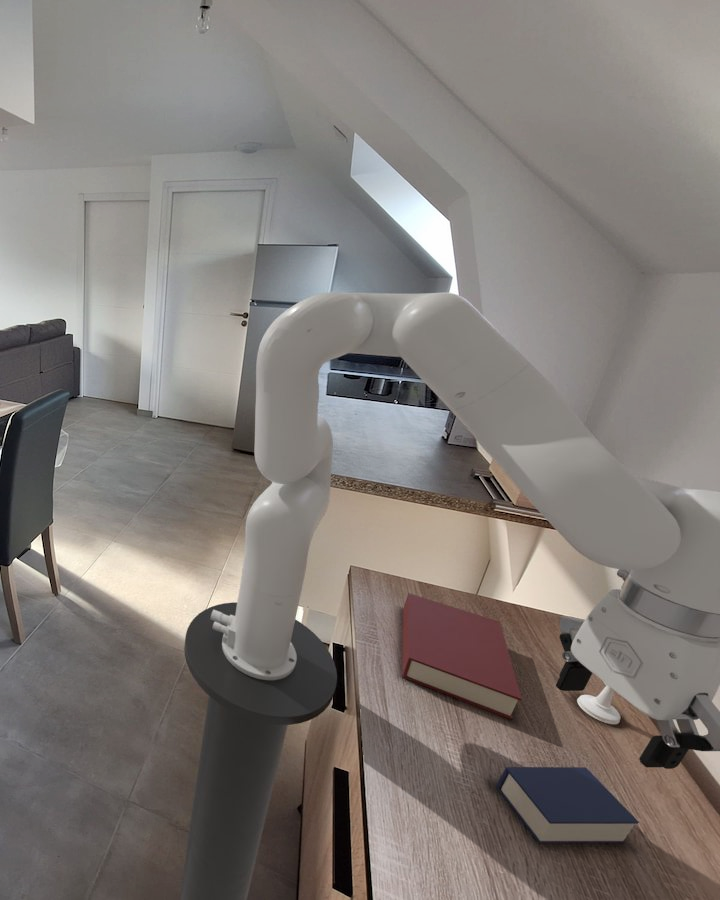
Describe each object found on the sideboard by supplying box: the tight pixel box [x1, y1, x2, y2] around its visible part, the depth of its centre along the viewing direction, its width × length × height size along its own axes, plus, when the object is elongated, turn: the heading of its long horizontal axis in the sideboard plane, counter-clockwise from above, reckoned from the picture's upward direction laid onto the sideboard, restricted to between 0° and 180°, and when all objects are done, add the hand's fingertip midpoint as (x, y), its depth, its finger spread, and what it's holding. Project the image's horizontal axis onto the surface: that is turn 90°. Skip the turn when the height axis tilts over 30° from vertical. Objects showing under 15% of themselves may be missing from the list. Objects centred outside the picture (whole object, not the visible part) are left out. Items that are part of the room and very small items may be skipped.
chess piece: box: [576, 681, 621, 725], centre depth 71 cm, size 5×5×10 cm
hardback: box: [401, 593, 523, 721], centre depth 82 cm, size 20×15×4 cm
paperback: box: [495, 766, 640, 844], centre depth 58 cm, size 11×6×4 cm, turn 91°
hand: (608, 723), depth 53 cm, fingers open, 9 cm apart
